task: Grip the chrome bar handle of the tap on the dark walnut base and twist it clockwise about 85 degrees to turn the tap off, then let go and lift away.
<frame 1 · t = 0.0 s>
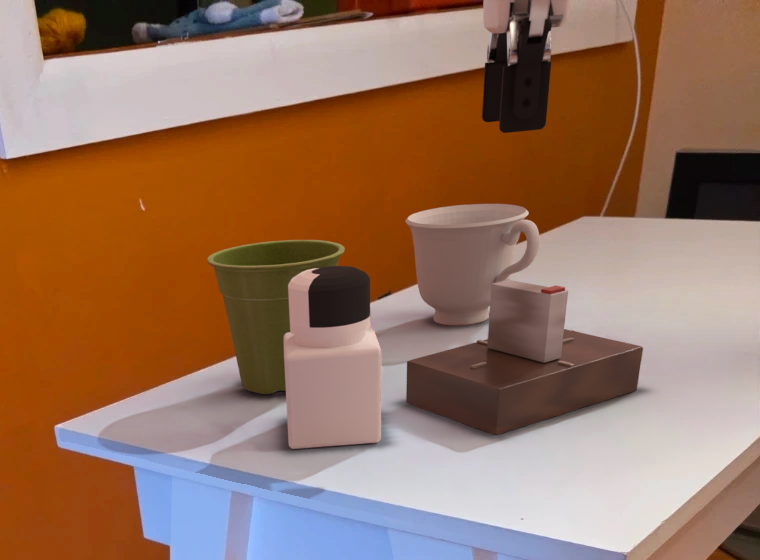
hand: (511, 125, 73), 19 cm above the table, tool pointing down, fingers open, 9 cm apart
teacup: (471, 322, 101), on the table
tap handle: (525, 319, 76), point 6 cm above the table, hinge at 90.0°
plant pot: (282, 386, 89), on the table
medicine bottle: (332, 434, 77), on the table
tap base: (519, 397, 79), on the table
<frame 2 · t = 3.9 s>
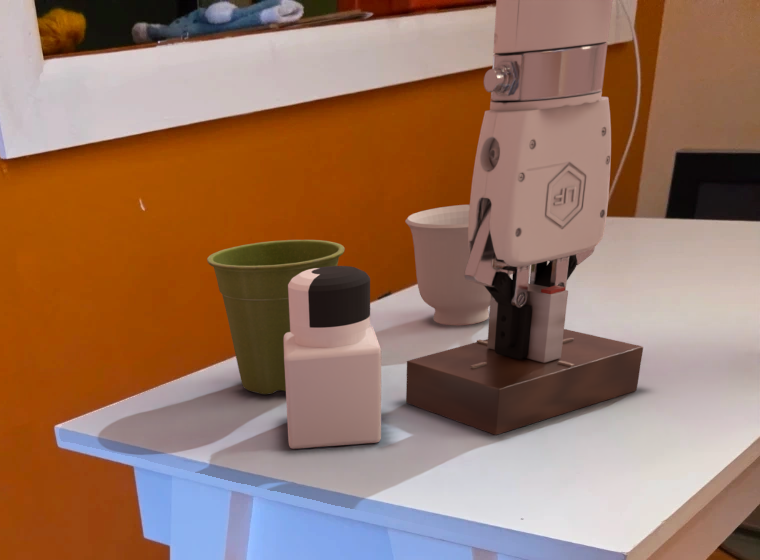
hand: (523, 350, 77), 4 cm above the table, tool pointing down, fingers closed on tap handle, 2 cm apart
tap handle: (525, 319, 76), point 6 cm above the table, hinge at 90.0°, touching gripper
everything else where it was.
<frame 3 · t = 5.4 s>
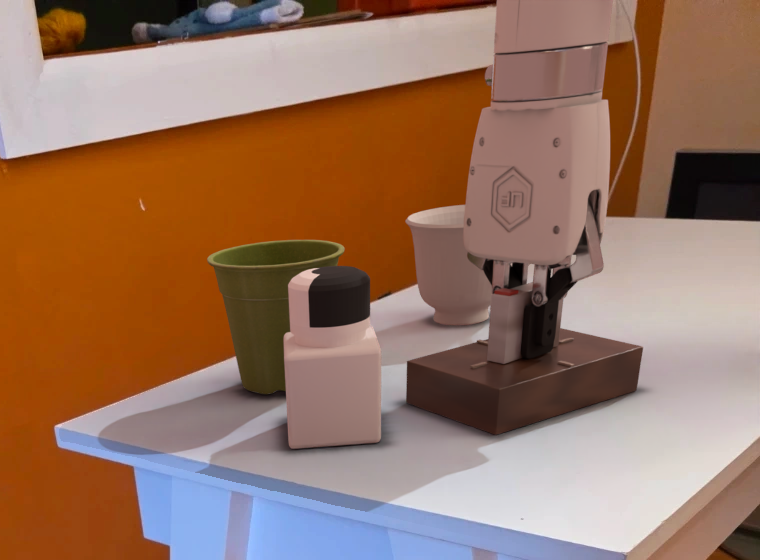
hand: (523, 350, 77), 4 cm above the table, tool pointing down, fingers closed on tap handle, 2 cm apart
tap handle: (525, 319, 76), point 6 cm above the table, hinge at 5.9°, touching gripper
everything else where it was.
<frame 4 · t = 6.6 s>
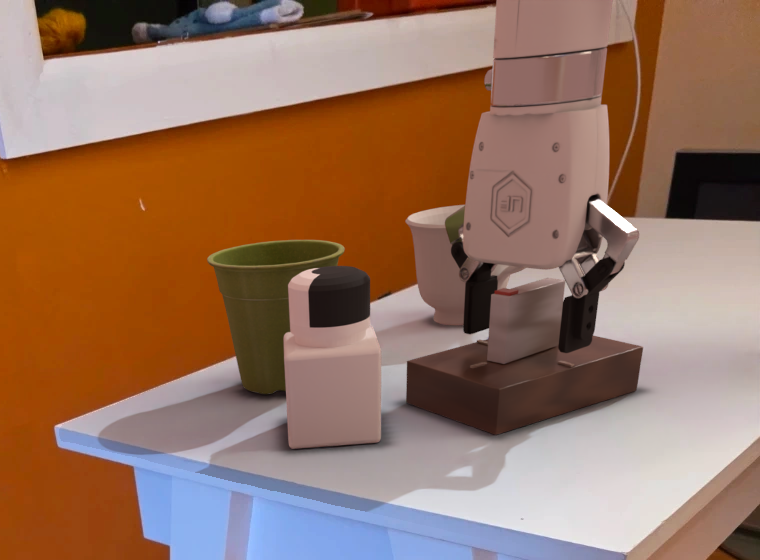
hand: (524, 339, 77), 5 cm above the table, tool pointing down, fingers open, 9 cm apart
tap handle: (525, 319, 76), point 6 cm above the table, hinge at 6.0°
everything else where it was.
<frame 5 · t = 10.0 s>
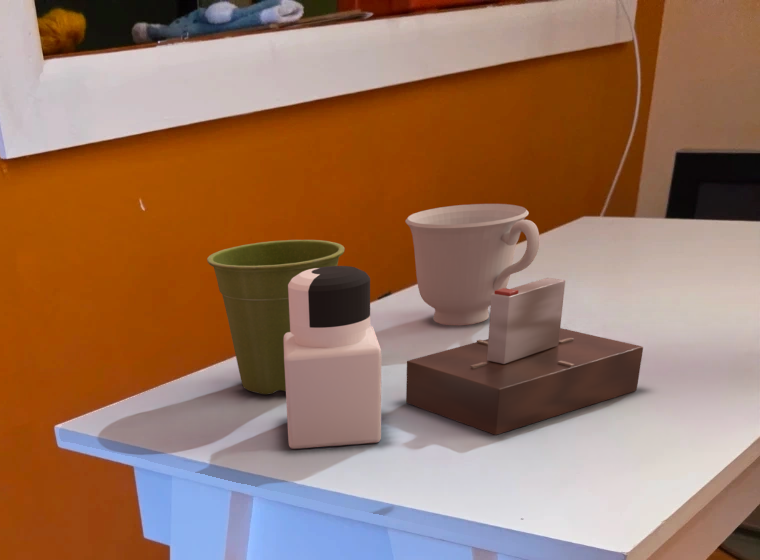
nothing on the table moved.
at the end: tap handle at +6° (first picture: +90°); the gripper is holding nothing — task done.
